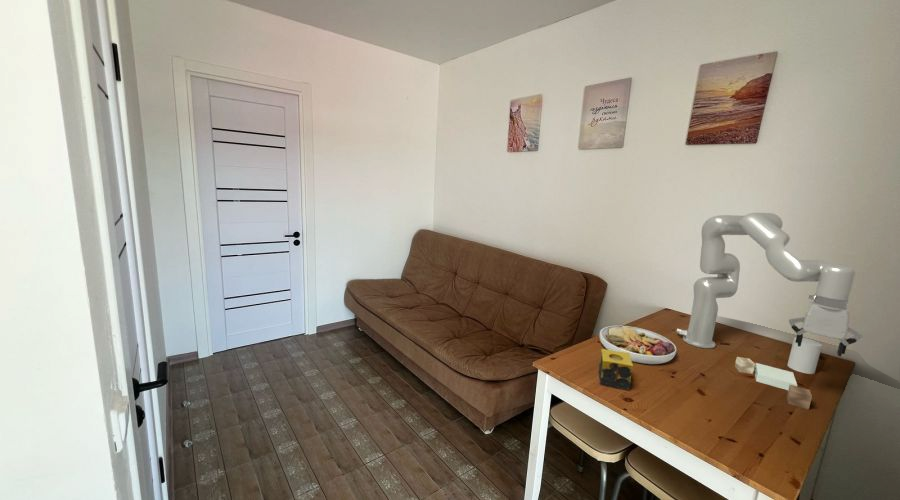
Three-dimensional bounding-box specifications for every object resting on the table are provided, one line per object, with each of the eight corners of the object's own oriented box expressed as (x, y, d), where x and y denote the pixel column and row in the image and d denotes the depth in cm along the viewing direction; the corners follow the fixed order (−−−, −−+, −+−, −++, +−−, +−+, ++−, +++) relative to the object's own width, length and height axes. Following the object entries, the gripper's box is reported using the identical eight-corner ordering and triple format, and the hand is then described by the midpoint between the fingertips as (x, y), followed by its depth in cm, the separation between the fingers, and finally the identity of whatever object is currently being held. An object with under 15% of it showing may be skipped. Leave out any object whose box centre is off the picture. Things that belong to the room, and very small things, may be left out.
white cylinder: (820, 375, 143) (827, 347, 140) (796, 372, 144) (803, 344, 142) (804, 364, 151) (811, 338, 148) (782, 362, 152) (789, 336, 150)
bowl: (589, 350, 157) (591, 333, 155) (609, 329, 179) (611, 314, 178) (667, 376, 138) (670, 357, 137) (679, 349, 161) (682, 333, 159)
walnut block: (788, 403, 123) (791, 390, 122) (786, 397, 127) (789, 384, 126) (808, 409, 120) (812, 396, 119) (805, 402, 124) (809, 389, 123)
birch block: (739, 372, 143) (741, 361, 142) (734, 366, 147) (736, 356, 146) (752, 374, 142) (755, 364, 141) (747, 368, 146) (749, 358, 145)
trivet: (756, 381, 136) (757, 374, 136) (754, 369, 145) (755, 362, 144) (795, 392, 130) (797, 384, 129) (791, 379, 139) (792, 372, 138)
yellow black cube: (626, 377, 136) (630, 353, 134) (630, 391, 127) (634, 366, 125) (597, 371, 139) (601, 347, 137) (599, 385, 130) (602, 360, 128)
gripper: (794, 298, 122) (784, 345, 125) (871, 311, 110) (857, 363, 114) (794, 293, 127) (784, 338, 131) (867, 306, 116) (854, 355, 119)
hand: (818, 349), depth 122 cm, fingers open, 9 cm apart
